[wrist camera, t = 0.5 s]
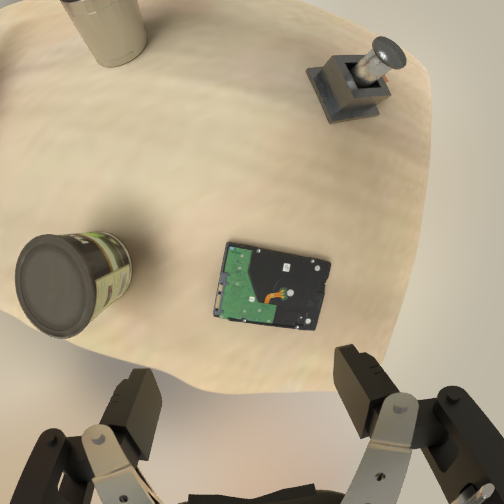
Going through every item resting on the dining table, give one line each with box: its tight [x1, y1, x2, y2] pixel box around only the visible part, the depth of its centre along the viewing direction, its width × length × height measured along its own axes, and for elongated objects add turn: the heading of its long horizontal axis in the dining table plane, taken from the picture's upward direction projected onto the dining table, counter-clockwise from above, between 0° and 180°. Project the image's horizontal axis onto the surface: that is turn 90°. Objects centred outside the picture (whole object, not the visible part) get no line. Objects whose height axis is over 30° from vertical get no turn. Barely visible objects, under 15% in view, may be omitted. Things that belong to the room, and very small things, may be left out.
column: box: [349, 36, 406, 89], centre depth 30 cm, size 5×5×13 cm
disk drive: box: [213, 242, 331, 331], centre depth 38 cm, size 10×3×15 cm
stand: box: [306, 55, 391, 124], centre depth 34 cm, size 10×10×7 cm
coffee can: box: [15, 232, 132, 339], centre depth 28 cm, size 10×10×14 cm
